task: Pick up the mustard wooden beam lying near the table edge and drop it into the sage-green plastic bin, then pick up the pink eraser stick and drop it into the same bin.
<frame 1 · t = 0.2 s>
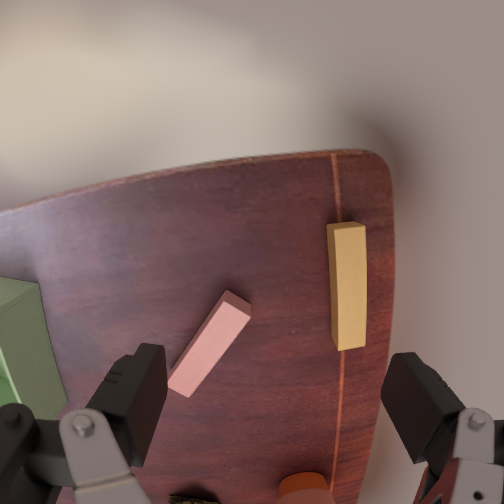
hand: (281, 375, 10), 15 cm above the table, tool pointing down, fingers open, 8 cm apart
pink eraser stick: (207, 340, 25), on the table
bin: (12, 337, 26), on the table
cup with straw: (301, 481, 31), on the table
mustard wooden beam: (343, 282, 24), on the table
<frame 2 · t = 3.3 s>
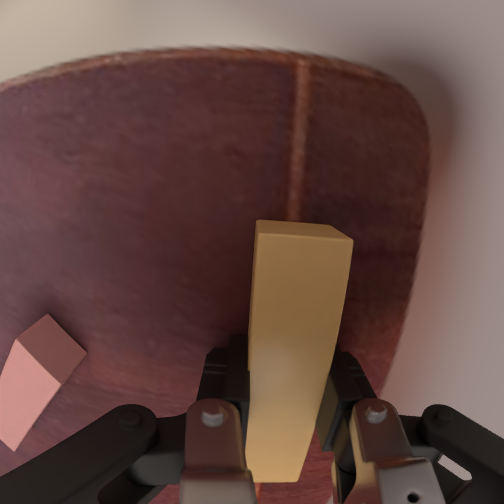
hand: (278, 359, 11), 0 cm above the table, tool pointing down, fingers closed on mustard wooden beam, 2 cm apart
pink eraser stick: (34, 384, 11), on the table
mustard wooden beam: (279, 358, 11), on the table, touching gripper
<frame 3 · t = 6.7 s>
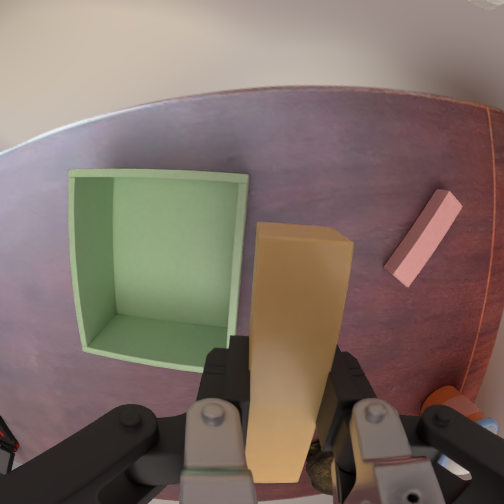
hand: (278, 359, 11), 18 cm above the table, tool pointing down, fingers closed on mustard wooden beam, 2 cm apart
seashell: (333, 455, 36), on the table
pink eraser stick: (418, 234, 27), on the table
bin: (172, 251, 28), on the table
handheld gaming console: (2, 430, 38), on the table
cup with straw: (437, 400, 34), on the table
mustard wooden beam: (279, 359, 11), point 18 cm above the table, touching gripper
when the fingers open (5 cm above the table, at t = 10.5 s): mustard wooden beam drops 4 cm, resting on bin.
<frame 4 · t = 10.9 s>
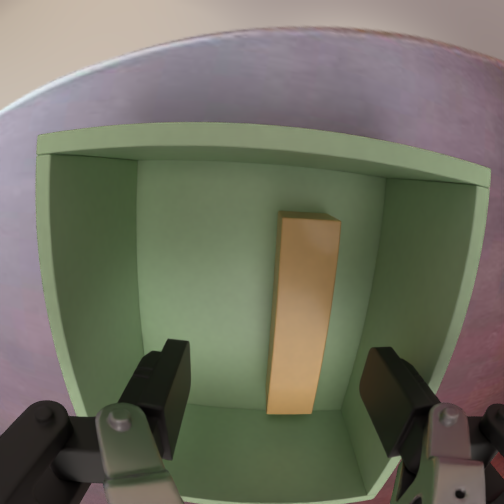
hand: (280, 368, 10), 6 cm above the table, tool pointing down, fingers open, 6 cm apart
bin: (253, 303, 16), on the table
mustard wooden beam: (295, 311, 15), point 1 cm above the table, touching bin
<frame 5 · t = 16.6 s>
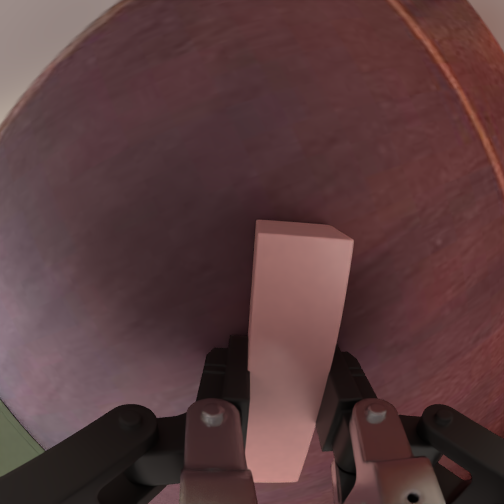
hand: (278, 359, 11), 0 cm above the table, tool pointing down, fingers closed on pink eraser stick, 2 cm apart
pink eraser stick: (279, 358, 11), on the table, touching gripper
bin: (23, 467, 14), on the table
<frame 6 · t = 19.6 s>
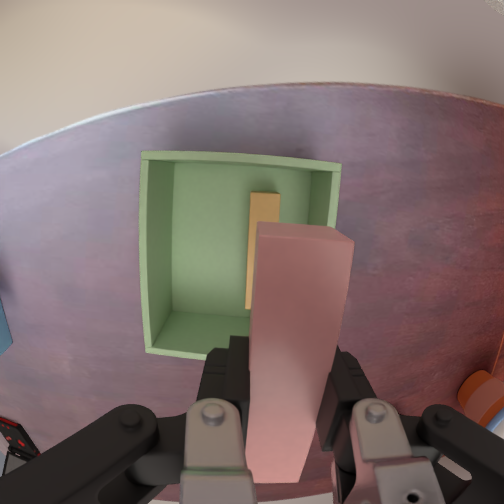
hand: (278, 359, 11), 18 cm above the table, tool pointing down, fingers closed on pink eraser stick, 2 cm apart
pink eraser stick: (279, 359, 11), point 18 cm above the table, touching gripper
bin: (237, 243, 28), on the table
handheld gaming console: (21, 439, 38), on the table
cup with straw: (471, 385, 33), on the table
mustard wooden beam: (261, 247, 27), point 1 cm above the table, touching bin
when the fingers open (6 cm above the table, at t = 23.0 s): pink eraser stick drops 5 cm, resting on bin.
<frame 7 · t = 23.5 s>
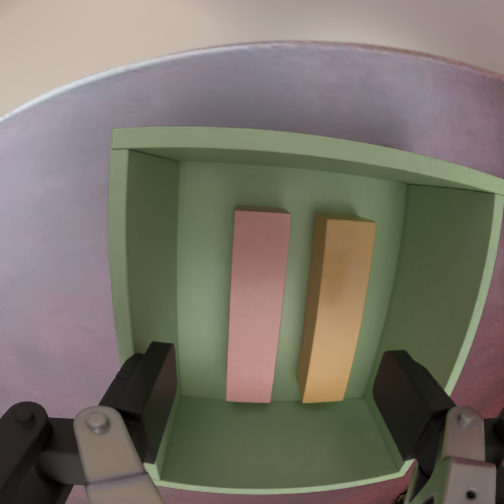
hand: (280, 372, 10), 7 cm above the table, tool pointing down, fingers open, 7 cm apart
pink eraser stick: (253, 301, 16), point 1 cm above the table, touching bin
bin: (287, 298, 17), on the table
mustard wooden beam: (327, 305, 16), point 1 cm above the table, touching bin
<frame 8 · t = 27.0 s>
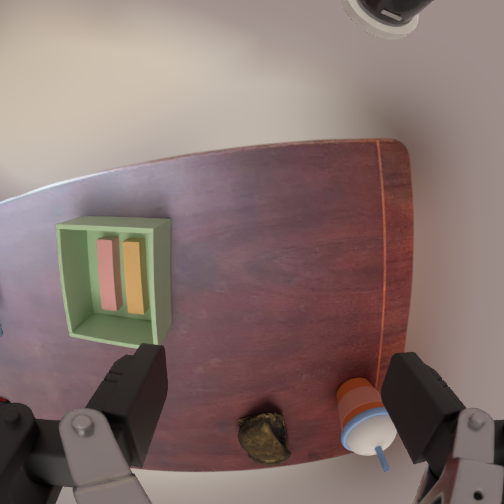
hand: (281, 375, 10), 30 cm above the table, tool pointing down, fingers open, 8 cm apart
seashell: (264, 431, 48), on the table
pink eraser stick: (113, 271, 40), point 1 cm above the table, touching bin
bin: (126, 270, 40), on the table
cup with straw: (353, 390, 46), on the table
mustard wooden beam: (138, 273, 40), point 1 cm above the table, touching bin
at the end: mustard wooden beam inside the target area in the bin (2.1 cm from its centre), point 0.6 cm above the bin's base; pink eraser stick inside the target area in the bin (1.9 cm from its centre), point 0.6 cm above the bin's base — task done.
